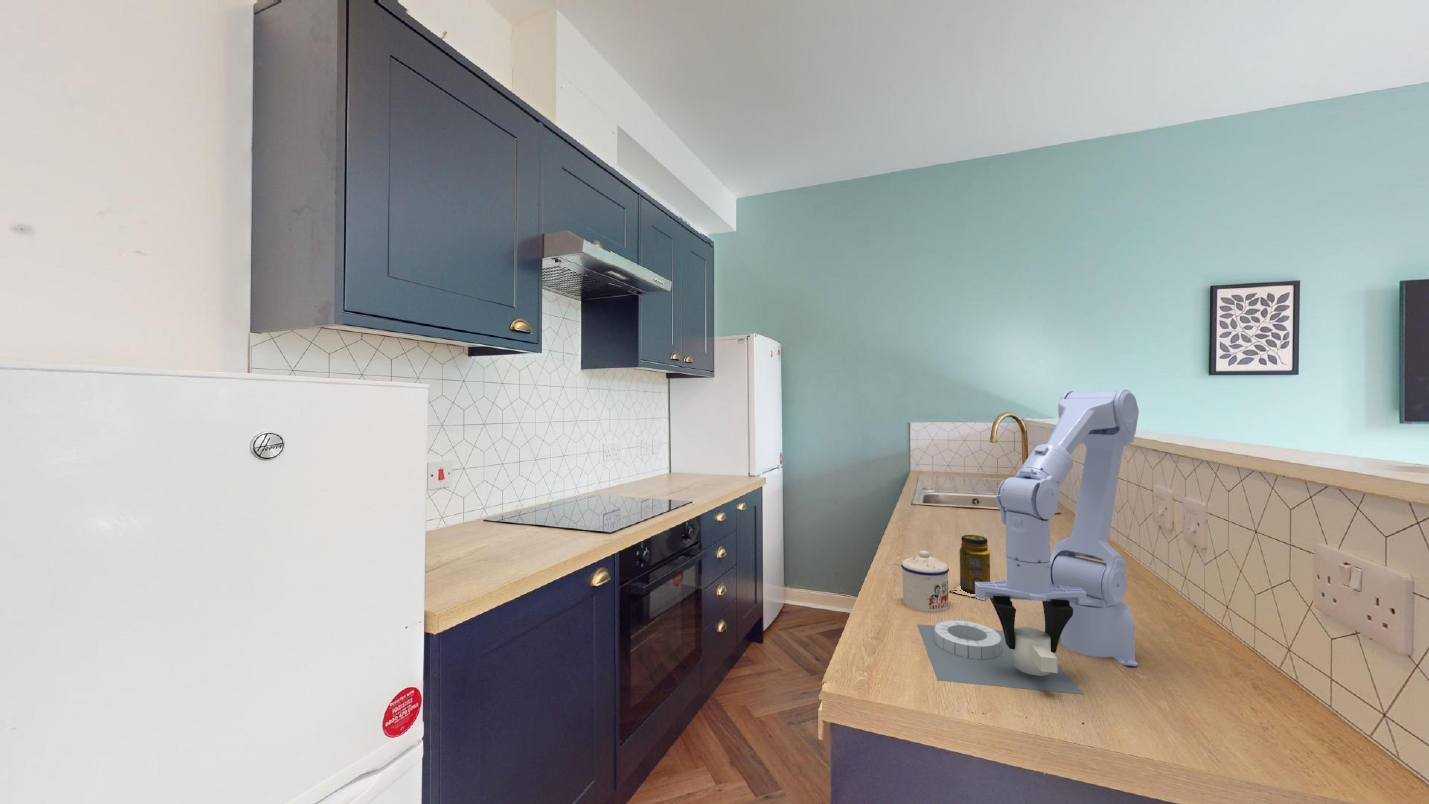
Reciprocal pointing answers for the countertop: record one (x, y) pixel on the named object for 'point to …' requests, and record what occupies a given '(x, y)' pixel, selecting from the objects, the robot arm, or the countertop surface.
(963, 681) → the stand
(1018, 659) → the cream post on cylinder
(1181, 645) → the countertop surface
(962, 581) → the condiment
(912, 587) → the teacup with lid
